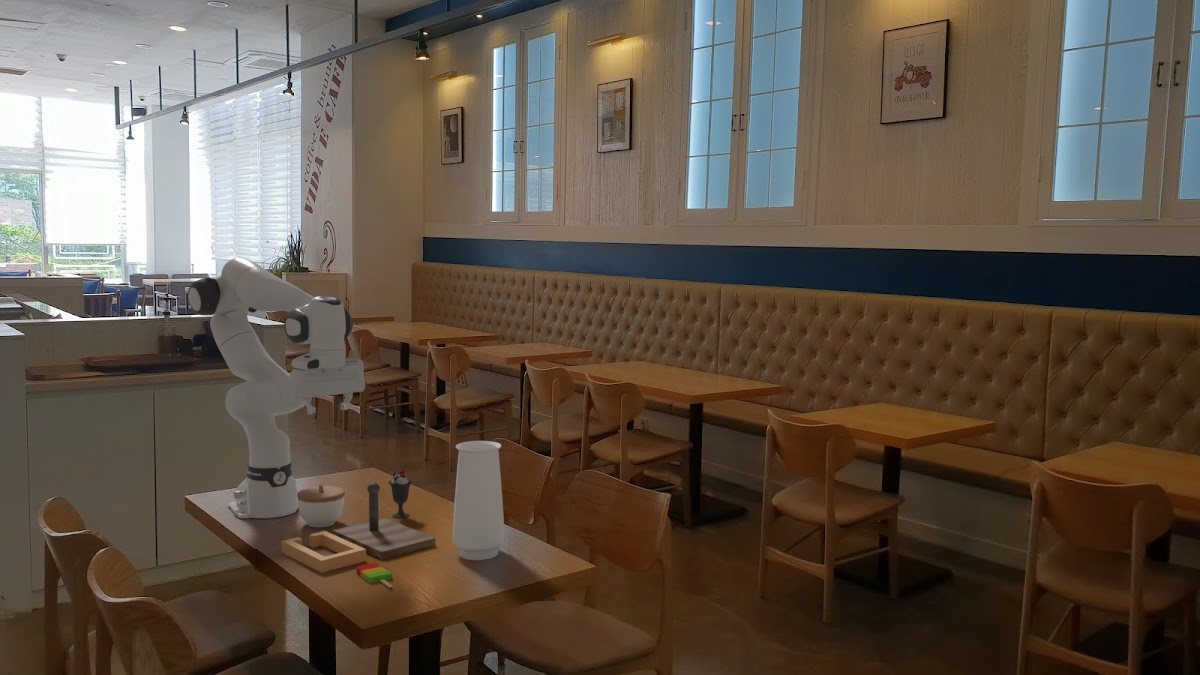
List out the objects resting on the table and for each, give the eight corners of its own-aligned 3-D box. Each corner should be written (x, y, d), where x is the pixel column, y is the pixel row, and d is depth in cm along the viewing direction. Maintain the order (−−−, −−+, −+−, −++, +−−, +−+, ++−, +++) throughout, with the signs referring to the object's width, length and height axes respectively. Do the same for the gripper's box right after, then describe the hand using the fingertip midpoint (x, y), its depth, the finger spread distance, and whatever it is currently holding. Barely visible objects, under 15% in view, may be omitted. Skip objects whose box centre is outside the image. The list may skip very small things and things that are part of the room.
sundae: (409, 519, 262) (409, 467, 260) (386, 519, 262) (385, 467, 261) (415, 512, 269) (414, 462, 267) (392, 512, 269) (391, 462, 267)
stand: (332, 537, 245) (331, 482, 244) (384, 524, 257) (383, 472, 255) (382, 559, 229) (381, 501, 227) (435, 545, 240) (435, 489, 239)
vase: (455, 564, 226) (455, 452, 223) (450, 547, 238) (449, 441, 236) (508, 560, 229) (508, 449, 227) (499, 543, 242) (500, 439, 239)
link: (281, 552, 233) (281, 540, 233) (325, 542, 242) (325, 530, 241) (321, 572, 219) (321, 560, 219) (366, 561, 228) (365, 549, 227)
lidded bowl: (316, 533, 249) (315, 493, 247) (288, 524, 256) (287, 485, 255) (354, 522, 259) (353, 484, 257) (326, 514, 266) (326, 476, 265)
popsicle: (377, 569, 223) (376, 561, 223) (402, 588, 211) (402, 580, 211) (355, 573, 220) (355, 566, 220) (379, 593, 208) (379, 585, 208)
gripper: (357, 355, 248) (357, 405, 250) (285, 361, 234) (286, 414, 235) (369, 357, 244) (369, 409, 245) (297, 363, 229) (298, 418, 231)
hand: (328, 412), depth 240 cm, fingers open, 8 cm apart
